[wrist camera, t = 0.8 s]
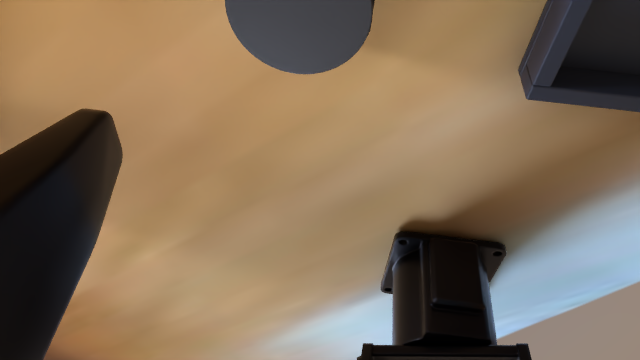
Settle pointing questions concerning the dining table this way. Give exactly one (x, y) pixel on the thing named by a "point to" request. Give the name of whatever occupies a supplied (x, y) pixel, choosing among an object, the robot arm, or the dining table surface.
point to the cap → (301, 31)
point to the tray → (585, 54)
